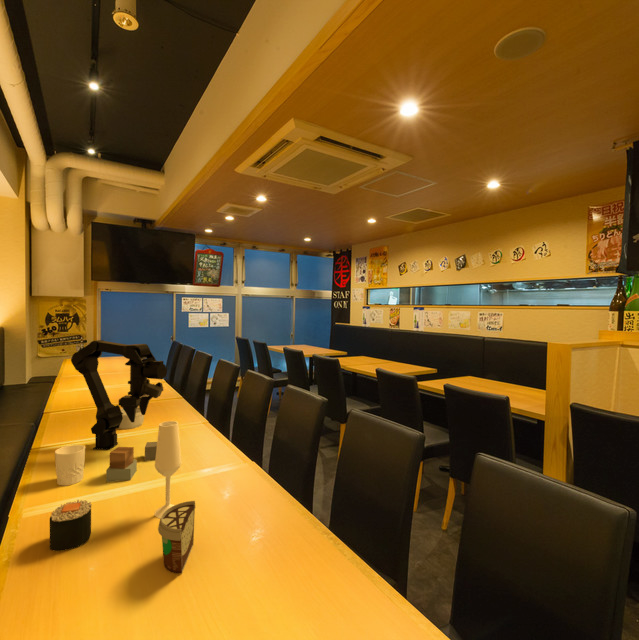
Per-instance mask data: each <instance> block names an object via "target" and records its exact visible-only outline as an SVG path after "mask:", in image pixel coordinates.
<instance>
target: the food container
mask: <svg viewBox="0 0 639 640" xmlns="http://www.w3.org/2000/svg"><path fill="white" fill-rule="evenodd" d="M173 505H174V506H172V507H170V508H169V509H167V510H166V511H165V512H164V513H163V515H162V517H161V518H159V523H158V526H157V532H158V534H159V535H160V536H161V544H162V557H163V558H162V559H163V567H164V568H165V569H166V571H168V572H170V573H173V574H181V575H182V574H183V571H184V570H185V567H186V565H187V563H188V560H189V557H190V554H191V552H192V550H193V547H194V540H195V539H194V538H195V537H194V535H195V515H196V514H195V513H196V512H195V511H196V510H195V509H196V500H190V501H183V502H180V503H178V504H173Z"/></svg>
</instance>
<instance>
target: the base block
mask: <svg viewBox="0 0 639 640" xmlns="http://www.w3.org/2000/svg"><path fill="white" fill-rule="evenodd" d="M137 464H138V461H137V459H134V461H133V463H132V464H131V465H129V466H128V467H127V468H125V469H117V468H110V465H109V466H108V468H106V470H105V471H106V472H105V475H106V477H105V478H106V479H105V482H106V483H107V482H109V483H110V482H124V481H128V482H129V481H132V478H133V477H134V476H135V474H136V472H137V471H138V470H137Z"/></svg>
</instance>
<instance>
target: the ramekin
mask: <svg viewBox="0 0 639 640" xmlns="http://www.w3.org/2000/svg"><path fill="white" fill-rule="evenodd" d="M120 410H121V412H122V413H123V414H122V417H123V420H122V422H121V424H120V426H119V428H118V429H119V430H131V429H136V428H139V427H141V426H142V425H143V423H144V419H145V415H142V414H141V411H140V407H139V406H138V407H137V409H136V416H135V421H134V422H131V421H130V419H129V418H128V416H127V414H126V412H125V411H124V409H123V408H122V407H121V408H120Z"/></svg>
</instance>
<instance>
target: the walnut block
mask: <svg viewBox="0 0 639 640" xmlns="http://www.w3.org/2000/svg"><path fill="white" fill-rule="evenodd" d="M134 452H135V451H134V446H133V447H132V446H117V447H116V448H115V449H113V450H111V451H110V452H109V466H110V468H117V469H125V468H127V467H128V466H129V465H131V464H132V463H133V461H134V460H135V457H134V455H135V454H134Z"/></svg>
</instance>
